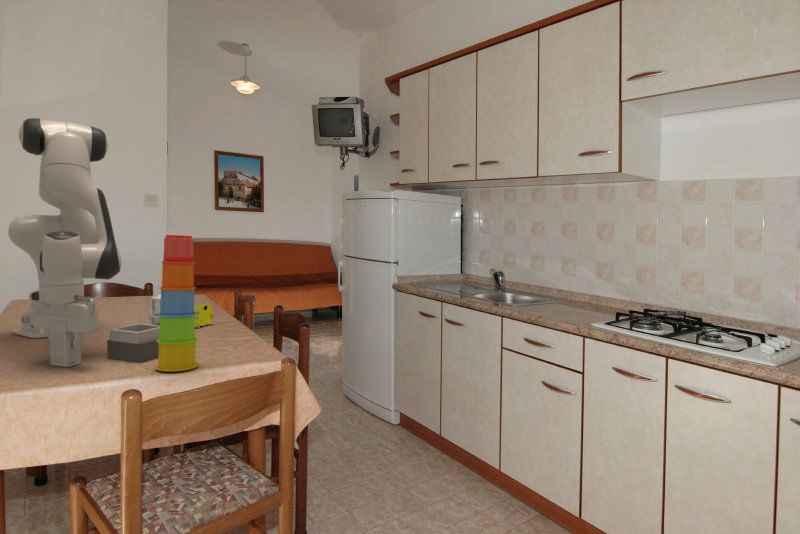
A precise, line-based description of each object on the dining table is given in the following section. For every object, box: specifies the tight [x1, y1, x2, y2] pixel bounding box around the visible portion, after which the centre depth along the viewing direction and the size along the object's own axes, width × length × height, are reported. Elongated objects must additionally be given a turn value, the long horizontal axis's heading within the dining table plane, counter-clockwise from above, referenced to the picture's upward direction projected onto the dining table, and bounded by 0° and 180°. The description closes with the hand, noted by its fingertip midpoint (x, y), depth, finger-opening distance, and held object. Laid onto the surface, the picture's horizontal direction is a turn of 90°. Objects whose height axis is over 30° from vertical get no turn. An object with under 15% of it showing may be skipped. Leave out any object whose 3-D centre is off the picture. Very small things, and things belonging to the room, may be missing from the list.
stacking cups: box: [155, 234, 199, 373], centre depth 130 cm, size 10×10×35 cm
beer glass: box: [147, 295, 161, 326], centre depth 154 cm, size 7×7×15 cm
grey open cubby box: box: [106, 322, 160, 363], centre depth 142 cm, size 12×10×9 cm
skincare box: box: [49, 320, 82, 368], centre depth 132 cm, size 6×4×12 cm
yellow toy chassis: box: [194, 303, 214, 329], centre depth 181 cm, size 16×6×8 cm, turn 155°
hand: (65, 347), depth 132 cm, fingers closed on skincare box, 6 cm apart
